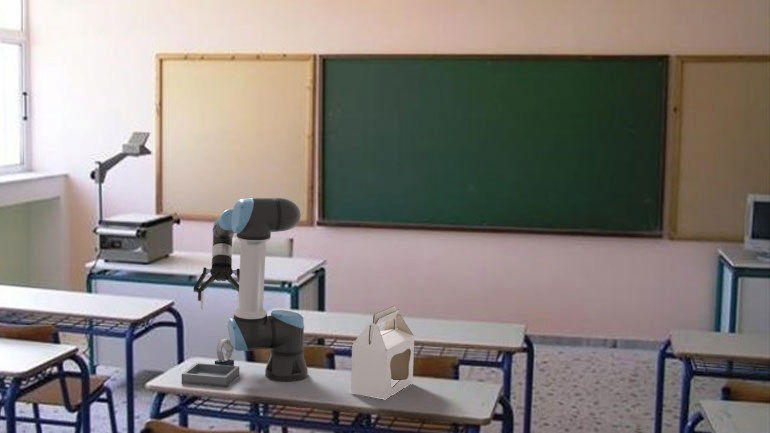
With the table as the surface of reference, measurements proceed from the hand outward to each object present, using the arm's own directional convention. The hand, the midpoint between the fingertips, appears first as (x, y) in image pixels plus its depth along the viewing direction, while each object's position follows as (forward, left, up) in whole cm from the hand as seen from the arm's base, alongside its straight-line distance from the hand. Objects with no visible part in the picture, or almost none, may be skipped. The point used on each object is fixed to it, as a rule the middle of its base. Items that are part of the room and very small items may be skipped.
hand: (220, 309), depth 350 cm
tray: (-5, +23, -20) cm, 31 cm away
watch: (-5, +9, -20) cm, 23 cm away
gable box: (-65, +17, -20) cm, 70 cm away
